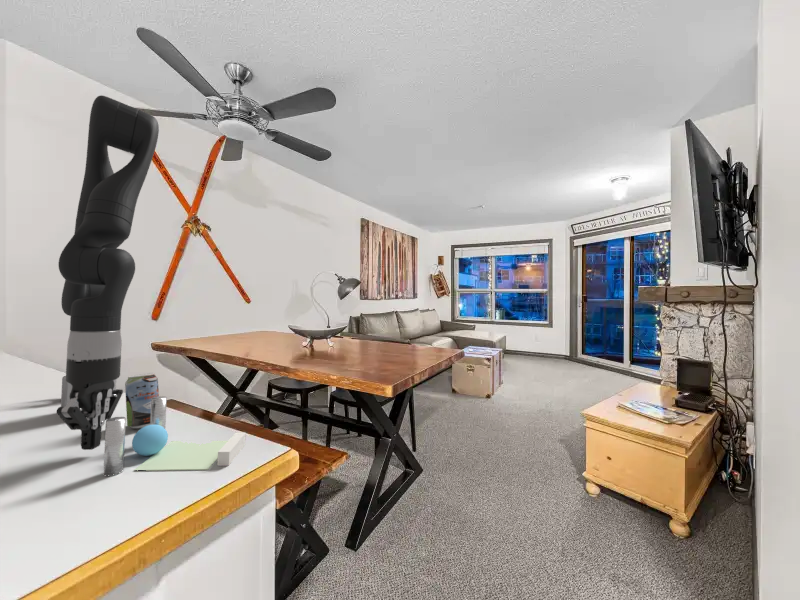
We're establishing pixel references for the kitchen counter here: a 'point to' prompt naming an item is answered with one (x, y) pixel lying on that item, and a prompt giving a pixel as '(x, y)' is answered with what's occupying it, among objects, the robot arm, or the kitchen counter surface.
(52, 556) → the kitchen counter surface
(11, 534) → the kitchen counter surface
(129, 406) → the beverage can
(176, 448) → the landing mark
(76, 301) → the robot arm
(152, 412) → the post
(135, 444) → the ball
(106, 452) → the post
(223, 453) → the stopper wall
